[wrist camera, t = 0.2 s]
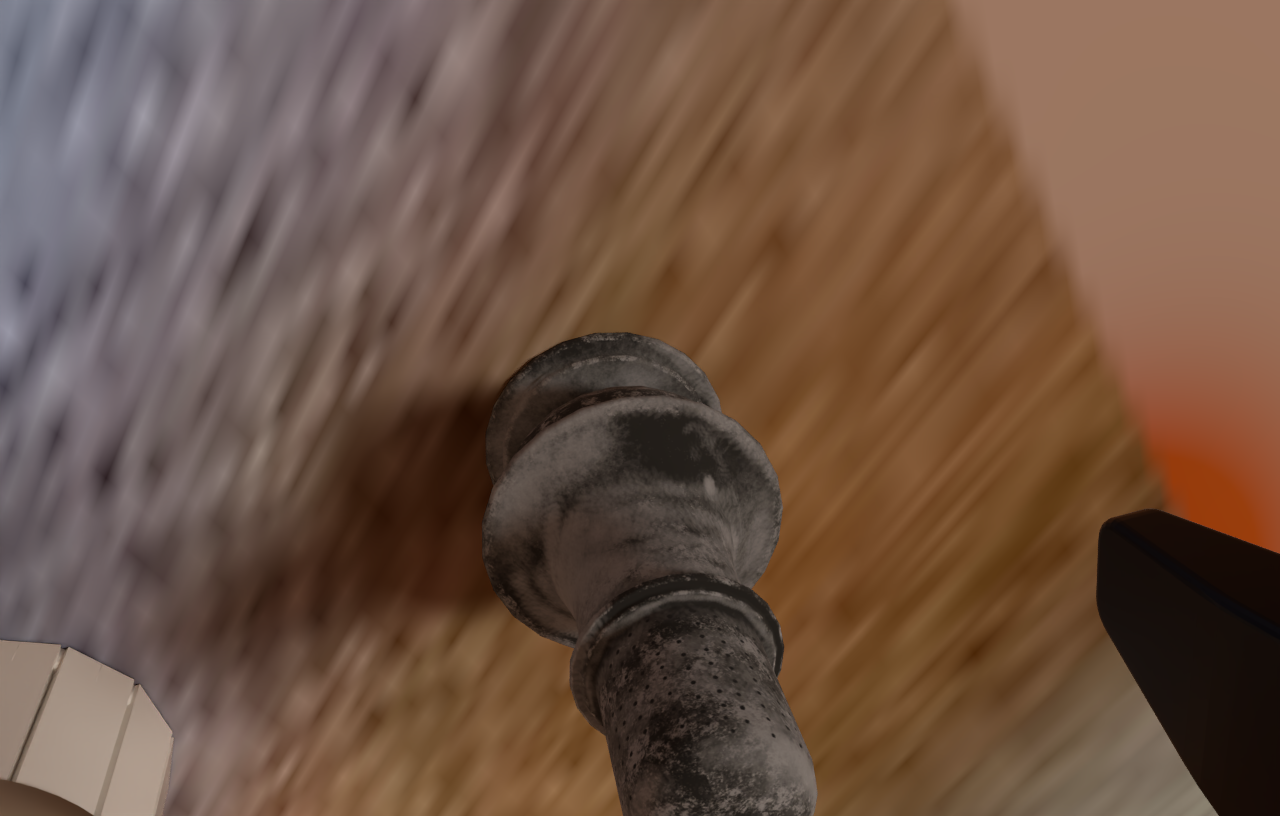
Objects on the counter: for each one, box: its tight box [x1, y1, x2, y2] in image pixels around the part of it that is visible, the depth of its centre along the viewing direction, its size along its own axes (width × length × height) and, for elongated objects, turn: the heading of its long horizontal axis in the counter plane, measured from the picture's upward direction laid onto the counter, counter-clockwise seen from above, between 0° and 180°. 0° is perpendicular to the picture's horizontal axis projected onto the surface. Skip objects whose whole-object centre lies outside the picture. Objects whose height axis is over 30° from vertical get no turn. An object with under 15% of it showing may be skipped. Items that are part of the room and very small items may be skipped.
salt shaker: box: [482, 333, 817, 816], centre depth 19 cm, size 6×6×12 cm
